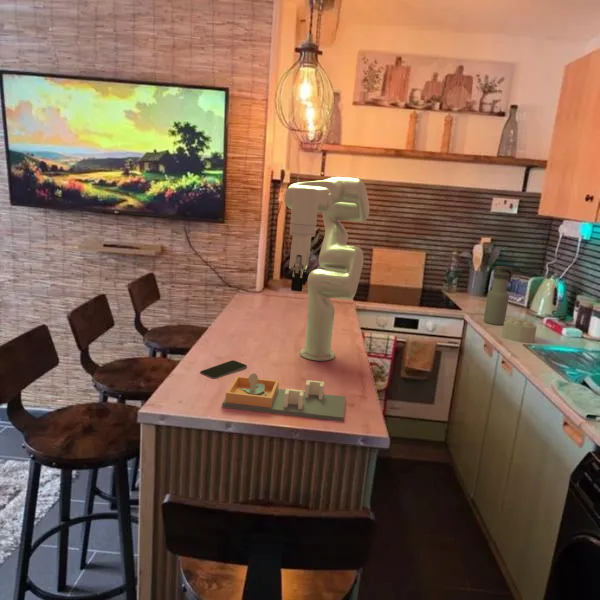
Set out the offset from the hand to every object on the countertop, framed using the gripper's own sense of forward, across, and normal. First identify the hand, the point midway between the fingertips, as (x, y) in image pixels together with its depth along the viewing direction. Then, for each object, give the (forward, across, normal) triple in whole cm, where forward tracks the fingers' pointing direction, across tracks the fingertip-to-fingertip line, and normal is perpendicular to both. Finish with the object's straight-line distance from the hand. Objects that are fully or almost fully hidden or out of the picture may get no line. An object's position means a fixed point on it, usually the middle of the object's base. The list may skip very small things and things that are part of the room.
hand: (298, 287), depth 156 cm
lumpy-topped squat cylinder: (+31, -80, +92) cm, 125 cm away
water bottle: (+31, -105, +87) cm, 140 cm away
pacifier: (+29, +16, -8) cm, 34 cm away
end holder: (+29, +16, -9) cm, 34 cm away
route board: (+30, +16, 0) cm, 34 cm away
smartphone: (+31, -4, -22) cm, 38 cm away
